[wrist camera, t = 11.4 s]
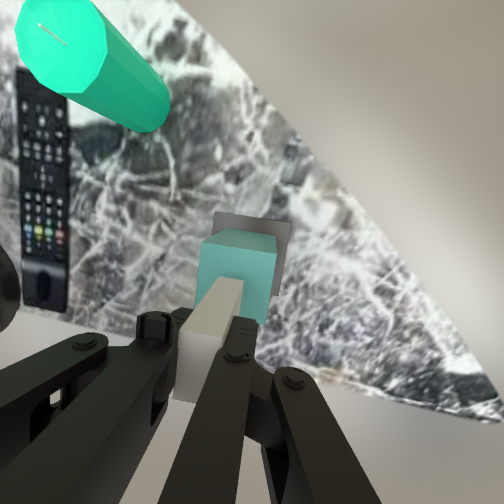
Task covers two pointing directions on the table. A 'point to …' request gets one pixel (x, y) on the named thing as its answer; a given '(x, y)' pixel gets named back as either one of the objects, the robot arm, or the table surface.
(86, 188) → the table surface
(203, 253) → the turquoise rectangular block
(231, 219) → the gray square base stand
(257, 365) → the robot arm
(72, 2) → the candle
